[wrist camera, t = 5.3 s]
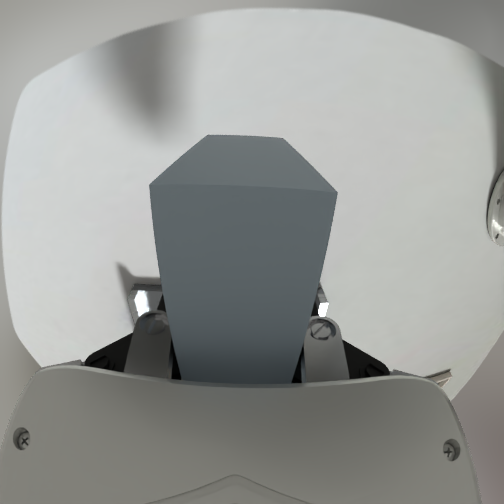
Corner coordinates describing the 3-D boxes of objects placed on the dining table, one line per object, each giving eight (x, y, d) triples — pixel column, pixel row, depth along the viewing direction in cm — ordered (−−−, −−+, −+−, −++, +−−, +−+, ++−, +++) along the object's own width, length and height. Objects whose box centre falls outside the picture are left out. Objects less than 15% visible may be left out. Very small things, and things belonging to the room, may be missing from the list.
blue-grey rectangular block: (282, 138, 10) (337, 192, 4) (261, 345, 16) (267, 450, 10) (207, 134, 10) (149, 185, 4) (212, 343, 16) (203, 448, 10)
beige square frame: (449, 371, 44) (452, 376, 43) (426, 398, 50) (428, 403, 49) (413, 382, 44) (415, 388, 42) (390, 409, 50) (391, 414, 48)
